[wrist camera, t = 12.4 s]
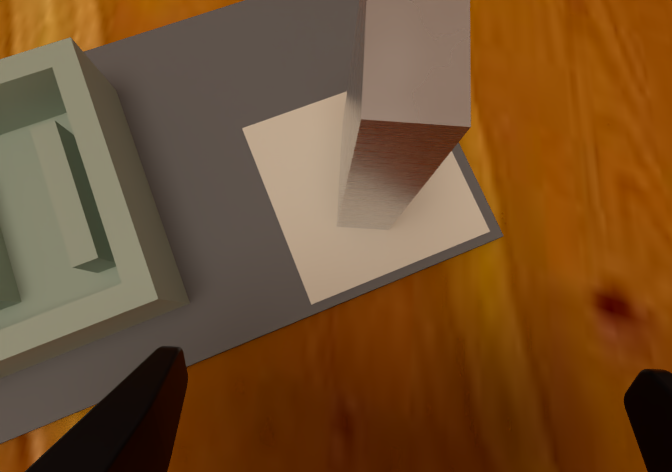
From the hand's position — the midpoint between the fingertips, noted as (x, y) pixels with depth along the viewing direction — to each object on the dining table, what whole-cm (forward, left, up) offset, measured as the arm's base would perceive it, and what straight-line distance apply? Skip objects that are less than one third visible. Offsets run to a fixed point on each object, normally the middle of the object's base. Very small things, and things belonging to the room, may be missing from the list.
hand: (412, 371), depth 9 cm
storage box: (+15, 0, -11) cm, 18 cm away
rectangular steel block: (+2, -7, -11) cm, 13 cm away
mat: (+10, -4, -11) cm, 16 cm away
